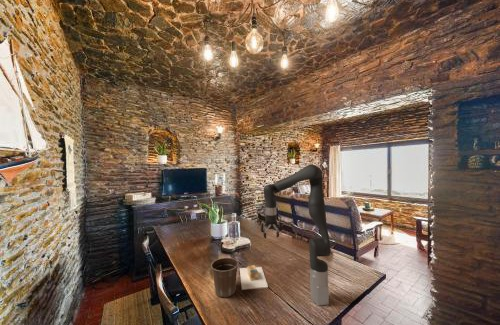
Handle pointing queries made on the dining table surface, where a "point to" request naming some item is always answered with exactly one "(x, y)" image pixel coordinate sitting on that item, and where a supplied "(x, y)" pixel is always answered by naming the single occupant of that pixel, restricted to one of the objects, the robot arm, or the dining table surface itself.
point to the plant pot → (224, 276)
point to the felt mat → (255, 283)
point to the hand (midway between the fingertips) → (271, 237)
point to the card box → (252, 273)
